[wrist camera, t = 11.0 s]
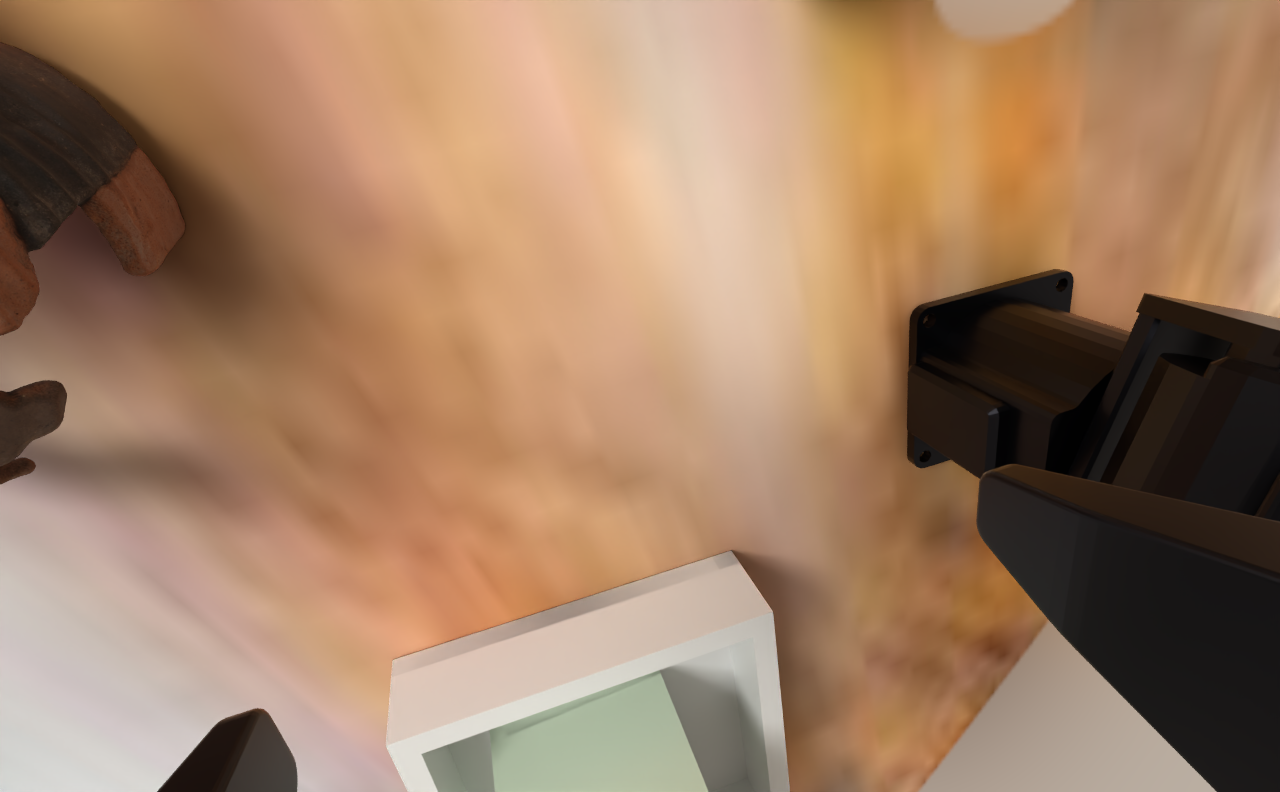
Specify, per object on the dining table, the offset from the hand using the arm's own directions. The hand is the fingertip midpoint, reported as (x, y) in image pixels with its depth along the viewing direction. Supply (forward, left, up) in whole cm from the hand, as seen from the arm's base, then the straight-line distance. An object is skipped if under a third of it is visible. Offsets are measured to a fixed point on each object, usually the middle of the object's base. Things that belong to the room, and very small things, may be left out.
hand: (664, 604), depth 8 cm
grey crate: (+1, +17, -13) cm, 21 cm away
